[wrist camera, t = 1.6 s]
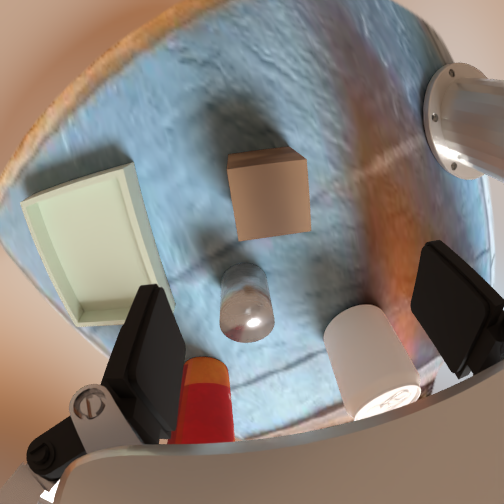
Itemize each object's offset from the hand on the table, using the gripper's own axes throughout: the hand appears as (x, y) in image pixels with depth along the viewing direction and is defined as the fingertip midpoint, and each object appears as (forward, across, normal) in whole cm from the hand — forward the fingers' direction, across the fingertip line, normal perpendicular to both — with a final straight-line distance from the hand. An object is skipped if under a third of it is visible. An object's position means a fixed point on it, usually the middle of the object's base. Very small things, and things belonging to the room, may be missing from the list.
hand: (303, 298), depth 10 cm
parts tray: (+16, +16, +4) cm, 23 cm away
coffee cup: (+16, +10, +23) cm, 30 cm away
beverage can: (+16, -9, +19) cm, 27 cm away
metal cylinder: (+16, +3, +10) cm, 19 cm away
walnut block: (+16, 0, 0) cm, 16 cm away
